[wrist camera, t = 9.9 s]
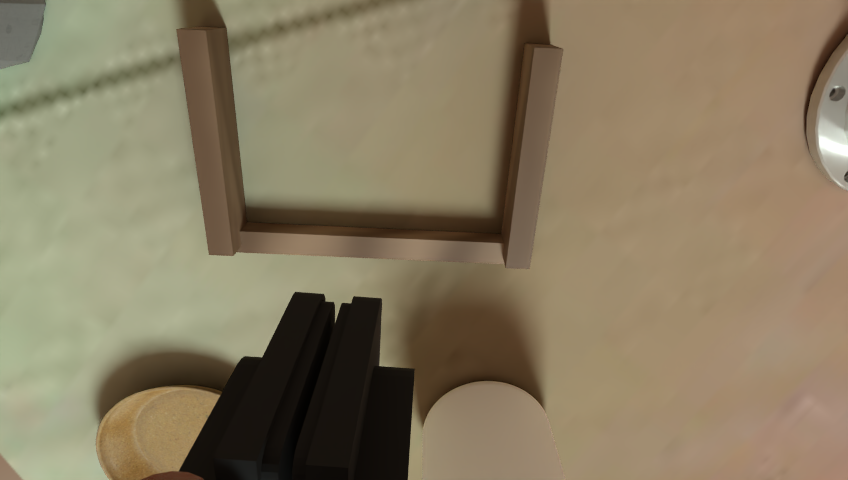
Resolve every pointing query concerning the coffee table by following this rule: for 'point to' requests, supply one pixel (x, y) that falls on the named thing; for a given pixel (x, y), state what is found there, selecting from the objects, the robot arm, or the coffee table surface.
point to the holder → (233, 233)
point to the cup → (489, 436)
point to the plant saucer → (152, 430)
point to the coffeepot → (19, 30)
